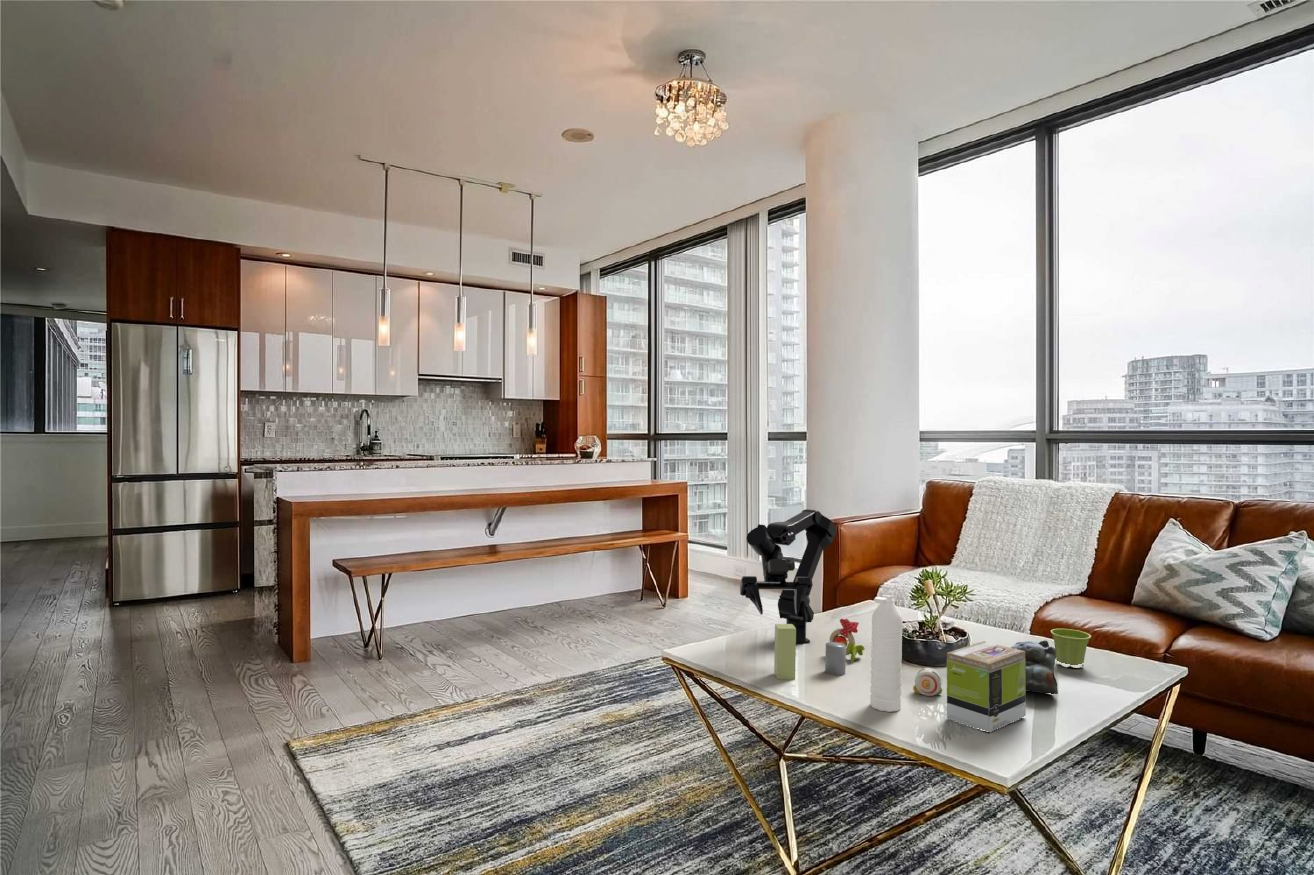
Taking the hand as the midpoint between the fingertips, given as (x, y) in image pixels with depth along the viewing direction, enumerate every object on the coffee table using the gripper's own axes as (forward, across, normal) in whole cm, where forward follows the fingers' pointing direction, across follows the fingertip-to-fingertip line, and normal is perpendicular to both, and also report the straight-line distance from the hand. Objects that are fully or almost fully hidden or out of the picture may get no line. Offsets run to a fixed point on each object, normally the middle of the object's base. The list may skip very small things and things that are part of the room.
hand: (779, 613), depth 195 cm
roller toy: (+24, +32, -4) cm, 40 cm away
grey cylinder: (+13, +14, +6) cm, 20 cm away
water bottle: (+30, +18, -11) cm, 37 cm away
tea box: (+34, +38, -15) cm, 54 cm away
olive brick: (+15, 0, +4) cm, 16 cm away
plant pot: (+8, +78, +12) cm, 80 cm away
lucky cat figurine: (+22, +55, -2) cm, 60 cm away
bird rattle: (+4, +20, +15) cm, 25 cm away
